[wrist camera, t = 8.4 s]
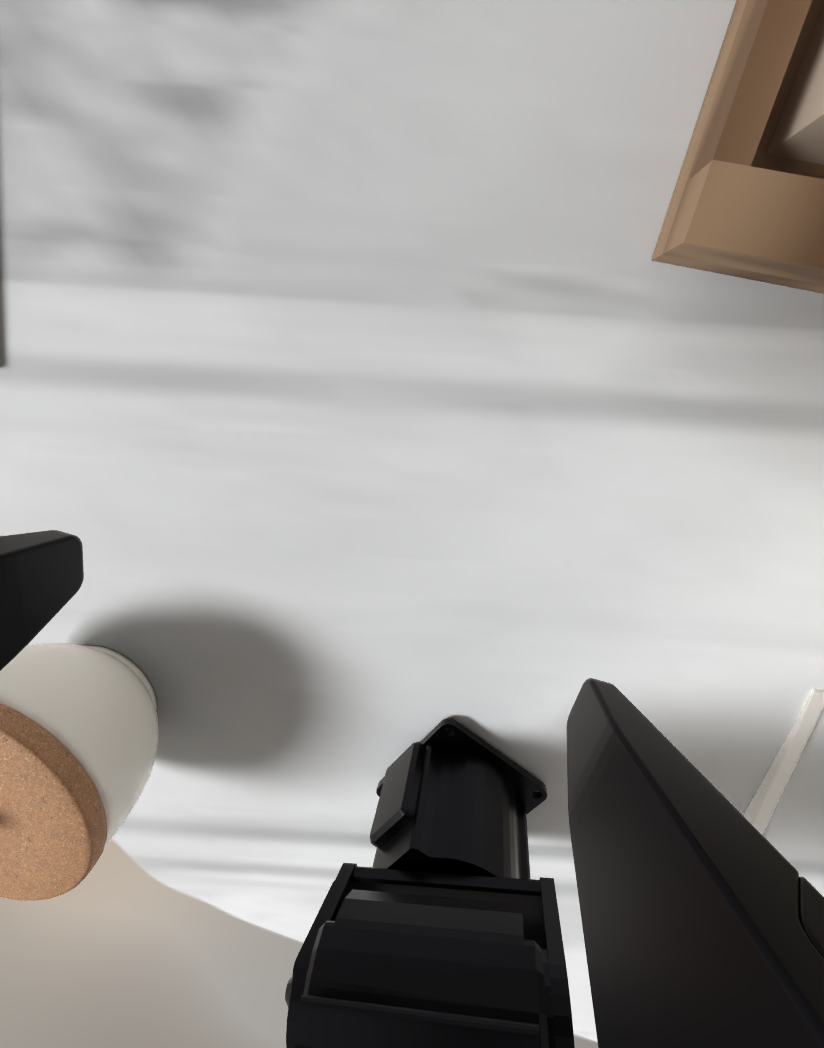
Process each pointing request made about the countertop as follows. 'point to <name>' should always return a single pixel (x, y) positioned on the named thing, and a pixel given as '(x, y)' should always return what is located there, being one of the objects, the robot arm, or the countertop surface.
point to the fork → (784, 763)
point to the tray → (750, 161)
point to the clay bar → (804, 107)
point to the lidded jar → (68, 762)
